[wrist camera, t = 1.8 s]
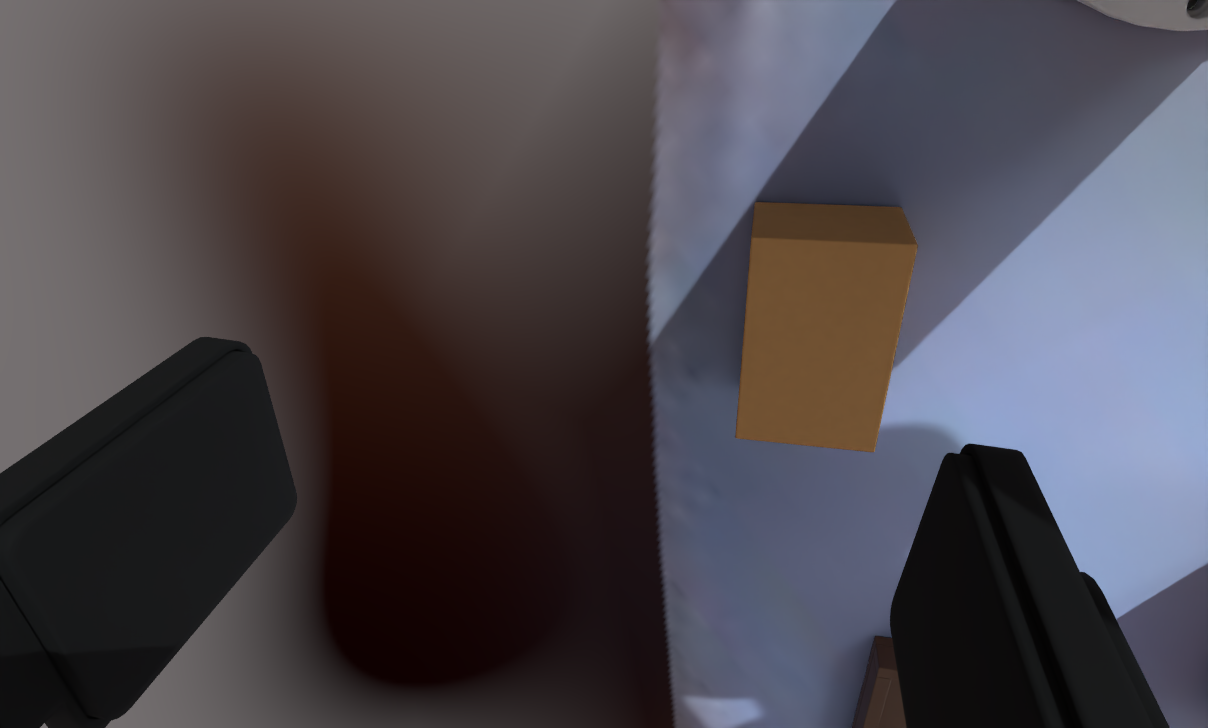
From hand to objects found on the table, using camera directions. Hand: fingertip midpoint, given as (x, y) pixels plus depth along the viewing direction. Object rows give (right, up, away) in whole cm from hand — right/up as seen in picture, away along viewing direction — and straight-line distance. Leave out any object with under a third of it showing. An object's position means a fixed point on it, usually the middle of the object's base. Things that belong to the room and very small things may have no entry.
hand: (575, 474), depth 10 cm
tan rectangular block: (+9, +4, +20) cm, 23 cm away
